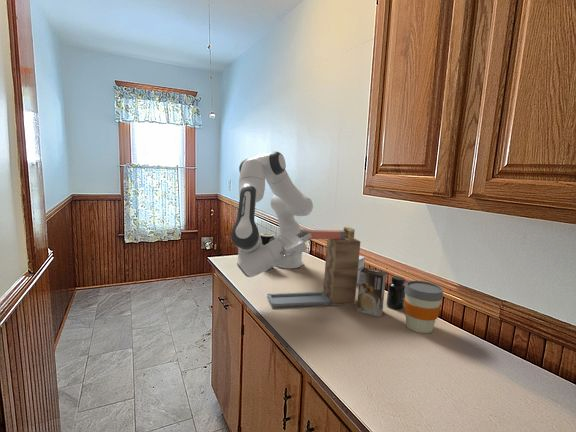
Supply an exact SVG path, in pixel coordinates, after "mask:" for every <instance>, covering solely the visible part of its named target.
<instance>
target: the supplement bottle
mask: <svg viewBox="0 0 576 432" xmlns="http://www.w3.org/2000/svg"><path fill="white" fill-rule="evenodd" d="M405 286H406V284H405V278H404V277H402V276H398V275H397V276H396V275H393V276H392V277H391V282H390V283H389V284H388V286H387V287H388V288H387V294H386V295H387V297H386V306H387V307H388V308H389V309H393V310H402V309H403V310H404V298H405V292H404V290H405Z"/></svg>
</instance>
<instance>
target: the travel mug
mask: <svg viewBox="0 0 576 432" xmlns="http://www.w3.org/2000/svg"><path fill="white" fill-rule="evenodd" d="M259 235H260V237H261V239H262V244H263V245H266V244H267V243H269V242H270V239H271V238H273V237H275V234H273V233H271V232H262V233H259ZM273 268H274V266H271V267H270V268H269V269H268V270H271V269H273ZM268 270H267V271H268Z"/></svg>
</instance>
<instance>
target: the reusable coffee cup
mask: <svg viewBox="0 0 576 432" xmlns="http://www.w3.org/2000/svg"><path fill="white" fill-rule="evenodd" d="M404 292H405V298H404V308H403V310H404V311H403V312H405V326H406V327H407V328H408V329H410V331H411V330H412V331H414V332H417V333H420V334H430V333H432V332H433V330H434V326H435V323H436V320H438V317H439V314H440V311H441V307H442V306H441V305H442V304H441V302H442V300H443V299H444V289H443V288H442V287H441V285H440V286H439V285H437V284H436V283H432V282H429V281H424V280H407V281H406V283H405V290H404Z"/></svg>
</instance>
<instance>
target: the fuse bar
mask: <svg viewBox="0 0 576 432" xmlns="http://www.w3.org/2000/svg"><path fill="white" fill-rule="evenodd" d="M343 230H344V229H340V230H339V229H338V230H337V229H300V238H301V237H304V236H305V234H307V233H310V234H311V235H312V237H311V238H310V239H309V240H327V239H345V233H346V232H345V231H343Z"/></svg>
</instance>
